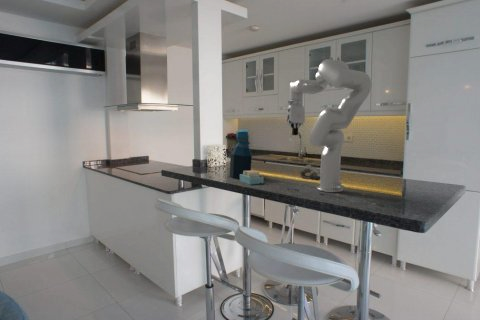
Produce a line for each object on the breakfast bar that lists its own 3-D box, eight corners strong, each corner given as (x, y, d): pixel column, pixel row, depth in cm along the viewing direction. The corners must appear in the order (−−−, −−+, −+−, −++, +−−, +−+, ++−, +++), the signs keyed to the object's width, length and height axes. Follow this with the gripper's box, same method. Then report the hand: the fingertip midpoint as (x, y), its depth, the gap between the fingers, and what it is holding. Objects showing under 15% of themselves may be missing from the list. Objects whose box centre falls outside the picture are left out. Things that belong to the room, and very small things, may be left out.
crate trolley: (259, 182, 173) (259, 171, 173) (248, 183, 170) (249, 172, 169) (253, 180, 180) (253, 170, 179) (242, 181, 177) (242, 170, 176)
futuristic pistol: (317, 188, 184) (325, 174, 180) (298, 175, 191) (305, 161, 188) (319, 187, 186) (326, 174, 182) (299, 175, 193) (306, 161, 190)
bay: (263, 183, 171) (263, 176, 171) (249, 184, 167) (249, 177, 167) (253, 180, 182) (253, 173, 182) (239, 181, 178) (239, 174, 178)
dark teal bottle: (251, 179, 184) (252, 129, 181) (228, 179, 185) (228, 129, 182) (250, 174, 205) (251, 129, 202) (230, 173, 206) (230, 129, 202)
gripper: (289, 102, 170) (288, 135, 171) (310, 103, 176) (309, 135, 178) (281, 103, 176) (280, 135, 178) (302, 104, 183) (301, 135, 185)
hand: (295, 135), depth 178 cm, fingers closed
